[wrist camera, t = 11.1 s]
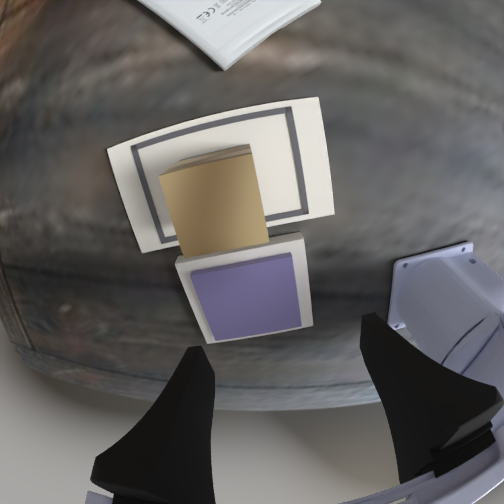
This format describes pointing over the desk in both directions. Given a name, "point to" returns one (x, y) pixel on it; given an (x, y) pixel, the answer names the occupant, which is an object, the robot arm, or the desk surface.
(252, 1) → the external hard drive
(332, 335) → the desk surface
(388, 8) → the desk surface
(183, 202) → the stamp
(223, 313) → the ink pad
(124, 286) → the desk surface
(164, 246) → the print card
